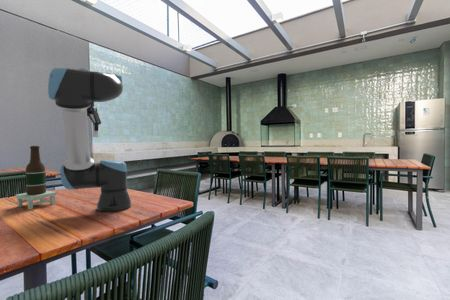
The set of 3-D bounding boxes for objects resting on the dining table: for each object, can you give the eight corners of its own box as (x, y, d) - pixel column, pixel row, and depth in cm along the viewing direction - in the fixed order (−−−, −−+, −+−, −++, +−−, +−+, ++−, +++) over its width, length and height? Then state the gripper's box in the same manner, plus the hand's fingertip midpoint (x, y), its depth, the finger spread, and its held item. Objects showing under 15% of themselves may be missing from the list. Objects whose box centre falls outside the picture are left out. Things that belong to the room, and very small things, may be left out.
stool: (56, 203, 119) (56, 192, 119) (28, 210, 108) (28, 197, 108) (43, 200, 124) (43, 189, 124) (15, 206, 114) (15, 194, 113)
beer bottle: (22, 194, 113) (20, 146, 112) (37, 191, 121) (36, 145, 119) (35, 195, 112) (33, 146, 110) (50, 192, 119) (48, 145, 118)
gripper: (107, 99, 129) (108, 137, 130) (78, 101, 139) (79, 137, 140) (95, 96, 122) (96, 136, 123) (65, 99, 132) (66, 136, 133)
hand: (87, 137), depth 131 cm, fingers open, 13 cm apart
